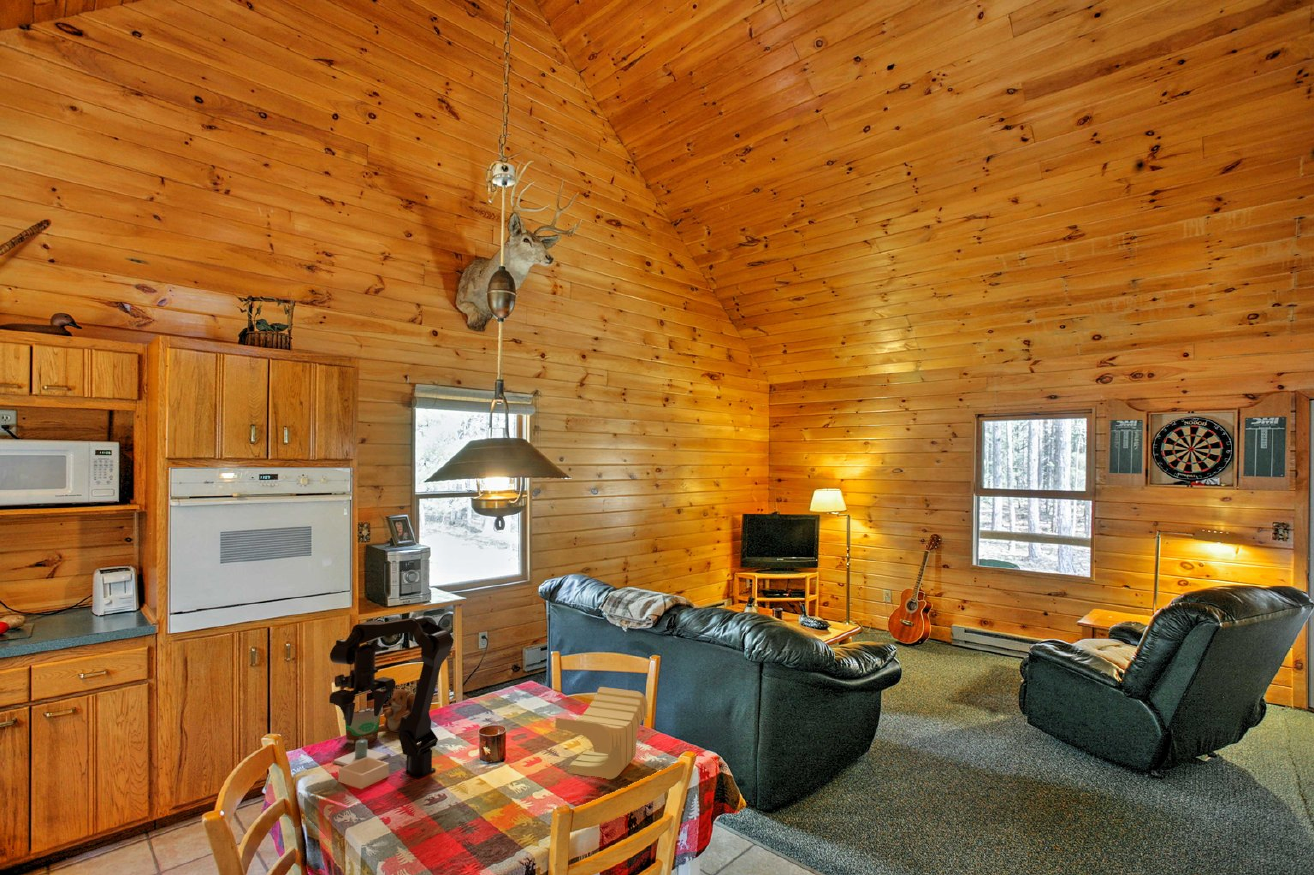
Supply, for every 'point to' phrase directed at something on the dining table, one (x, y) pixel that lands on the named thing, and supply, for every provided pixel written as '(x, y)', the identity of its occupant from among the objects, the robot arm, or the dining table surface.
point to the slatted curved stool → (608, 732)
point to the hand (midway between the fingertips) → (362, 720)
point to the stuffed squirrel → (397, 709)
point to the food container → (363, 726)
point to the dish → (363, 772)
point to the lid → (360, 754)
